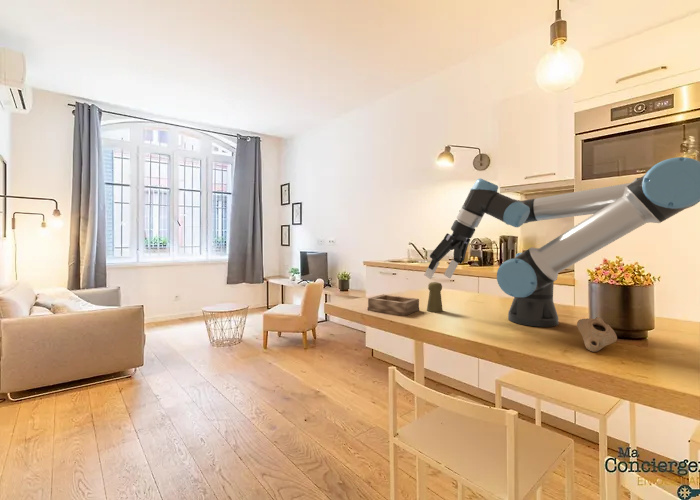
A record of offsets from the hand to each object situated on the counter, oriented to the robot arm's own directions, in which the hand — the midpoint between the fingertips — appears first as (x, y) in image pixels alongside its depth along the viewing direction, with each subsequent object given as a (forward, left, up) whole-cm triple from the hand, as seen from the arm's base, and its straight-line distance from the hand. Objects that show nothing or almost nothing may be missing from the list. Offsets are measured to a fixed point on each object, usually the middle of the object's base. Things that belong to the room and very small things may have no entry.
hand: (437, 276), depth 126 cm
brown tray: (+17, +2, -14) cm, 22 cm away
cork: (+4, -7, -14) cm, 17 cm away
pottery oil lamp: (-47, +8, -14) cm, 50 cm away
